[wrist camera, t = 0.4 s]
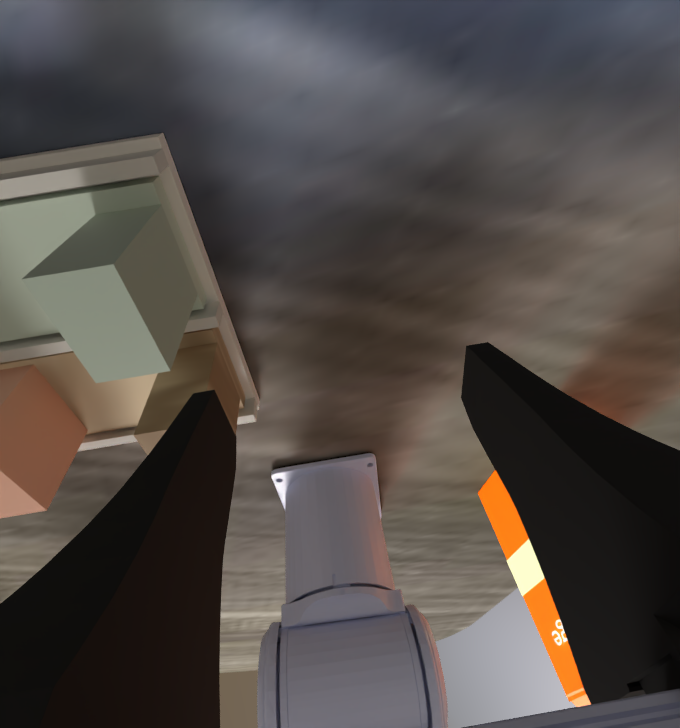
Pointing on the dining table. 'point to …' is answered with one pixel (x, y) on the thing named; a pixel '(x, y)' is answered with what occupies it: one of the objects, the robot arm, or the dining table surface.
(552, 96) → the dining table surface
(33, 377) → the block
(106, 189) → the strip
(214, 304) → the lane board
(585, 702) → the orange juice
